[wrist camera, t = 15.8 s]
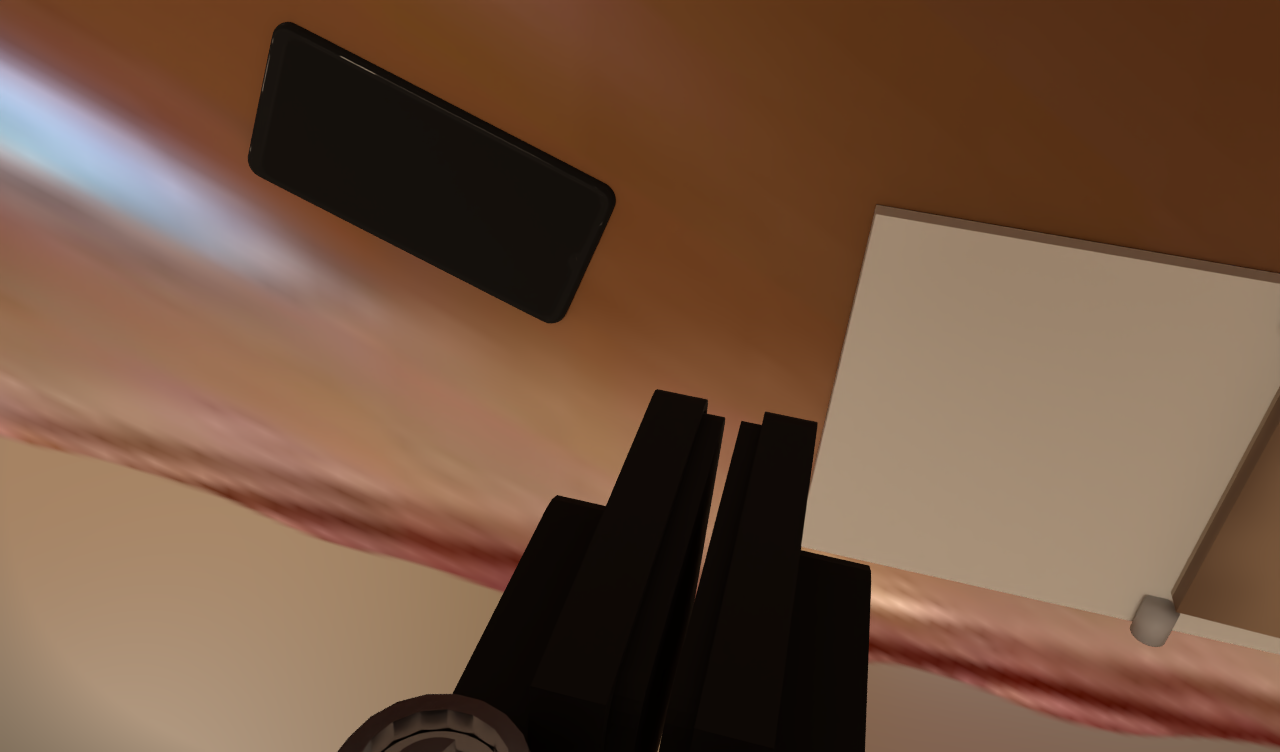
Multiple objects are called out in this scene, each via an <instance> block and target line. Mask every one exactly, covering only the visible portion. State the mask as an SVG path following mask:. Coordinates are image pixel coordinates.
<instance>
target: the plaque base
mask: <svg viewBox="0 0 1280 752" xmlns="http://www.w3.org/2000/svg"><path fill="white" fill-rule="evenodd" d="M1279 387H1280V274H1279V273H1273V272H1267V271H1261V270H1255V269H1250V268H1244V267H1238V266H1232V265H1226V264H1220V263H1214V262H1209V261H1203V260H1197V259H1191V258H1185V257H1179V256H1174V255H1168V254H1162V253H1156V252H1150V251H1144V250H1139V249H1133V248H1127V247H1121V246H1115V245H1109V244H1103V243H1098V242H1092V241H1086V240H1080V239H1074V238H1068V237H1063V236H1057V235H1051V234H1045V233H1039V232H1033V231H1028V230H1022V229H1016V228H1010V227H1004V226H998V225H992V224H987V223H981V222H975V221H969V220H963V219H957V218H952V217H946V216H940V215H934V214H928V213H922V212H917V211H911V210H905V209H899V208H893V207H887V206H881V205H876V208H875V212H874V217H873V221H872V225H871V229H870V233H869V238H868V242H867V246H866V250H865V254H864V259H863V263H862V267H861V271H860V275H859V280H858V284H857V288H856V292H855V296H854V301H853V305H852V309H851V313H850V317H849V322H848V326H847V330H846V334H845V338H844V343H843V347H842V351H841V355H840V359H839V364H838V368H837V372H836V376H835V380H834V385H833V389H832V393H831V397H830V402H829V406H828V410H827V414H826V418H825V423H824V427H823V431H822V435H821V439H820V444H819V448H818V452H817V456H816V460H815V465H814V469H813V473H812V477H811V481H810V486H809V492H808V500H807V507H806V514H805V522H804V529H803V537H802V544H801V547H805V548H809V549H814V550H818V551H823V552H827V553H831V554H836V555H840V556H845V557H849V558H854V559H858V560H862V561H867V562H871V563H876V564H880V565H885V566H889V567H893V568H898V569H902V570H907V571H911V572H916V573H920V574H924V575H929V576H933V577H938V578H942V579H947V580H951V581H956V582H960V583H964V584H969V585H973V586H978V587H982V588H987V589H991V590H995V591H1000V592H1004V593H1009V594H1013V595H1018V596H1022V597H1026V598H1031V599H1035V600H1040V601H1044V602H1049V603H1053V604H1057V605H1062V606H1066V607H1071V608H1075V609H1080V610H1084V611H1089V612H1093V613H1097V614H1102V615H1106V616H1111V617H1115V618H1120V619H1124V620H1128V621H1133V622H1132V624H1131V626H1130V631H1131V633H1132V635H1133V636H1134V637H1135V638H1136V639H1137V640H1139V641H1140V642H1142V643H1143V644H1146V645H1148V646H1152V647H1160V646H1163V645H1164V644H1165V642H1166V640H1167V638H1168V636H1169V635H1170V633H1171V631H1172V630H1173V631H1177V632H1182V633H1186V634H1190V635H1195V636H1199V637H1204V638H1208V639H1213V640H1217V641H1222V642H1226V643H1230V644H1235V645H1239V646H1244V647H1248V648H1253V649H1257V650H1261V651H1266V652H1270V653H1275V654H1279V655H1280V638H1276V637H1272V636H1268V635H1264V634H1260V633H1256V632H1253V631H1249V630H1245V629H1241V628H1237V627H1233V626H1229V625H1225V624H1221V623H1217V622H1213V621H1209V620H1205V619H1201V618H1197V617H1194V616H1190V615H1186V614H1182V613H1178V612H1176V610H1175V606H1174V603H1173V599H1172V595H1171V591H1172V589H1173V587H1174V585H1175V583H1176V581H1177V579H1178V577H1179V576H1180V574H1181V572H1182V570H1183V568H1184V566H1185V564H1186V562H1187V560H1188V559H1189V557H1190V555H1191V553H1192V551H1193V549H1194V547H1195V545H1196V544H1197V542H1198V540H1199V538H1200V536H1201V534H1202V532H1203V530H1204V528H1205V527H1206V525H1207V523H1208V521H1209V519H1210V517H1211V515H1212V513H1213V511H1214V510H1215V508H1216V506H1217V504H1218V502H1219V500H1220V498H1221V496H1222V494H1223V493H1224V491H1225V489H1226V487H1227V485H1228V483H1229V481H1230V479H1231V477H1232V476H1233V474H1234V472H1235V470H1236V468H1237V466H1238V464H1239V462H1240V460H1241V459H1242V457H1243V455H1244V453H1245V451H1246V449H1247V447H1248V445H1249V443H1250V442H1251V440H1252V438H1253V436H1254V434H1255V432H1256V430H1257V428H1258V426H1259V425H1260V423H1261V421H1262V419H1263V417H1264V415H1265V413H1266V411H1267V409H1268V408H1269V406H1270V404H1271V402H1272V400H1273V398H1274V396H1275V394H1276V392H1277V391H1278V389H1279Z"/></svg>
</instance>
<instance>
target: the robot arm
mask: <svg viewBox="0 0 1280 752" xmlns="http://www.w3.org/2000/svg"><path fill="white" fill-rule="evenodd" d="M707 407H708V400H707V399H702V398H697V397H692V396H687V395H683V394H678V393H673V392H668V391H663V390H658V389H657V390H655V392H654V394H653V396H652V398H651V401H650V403H649V405H648V408H647V410H646V413H645V415H644V417H643V420H642V422H641V424H640V427H639V429H638V432H637V434H636V436H635V439H634V441H633V443H632V446H631V448H630V450H629V453H628V455H627V458H626V460H625V462H624V465H623V467H622V469H621V472H620V474H619V477H618V479H617V481H616V484H615V486H614V488H613V491H612V493H611V496H610V498H609V500H608V503H607V505H606V506H603V505H598V504H594V503H589V502H585V501H581V500H576V499H572V498H567V497H563V496H559V495H557V496H555V497H554V498H553V499H552V500H551V502H550V503H549V505H548V507H547V508H546V510H545V512H544V514H543V516H542V518H541V520H540V522H539V524H538V526H537V528H536V530H535V532H534V534H533V536H532V538H531V540H530V542H529V544H528V546H527V548H526V550H525V552H524V554H523V556H522V558H521V560H520V562H519V563H518V565H517V567H516V569H515V571H514V573H513V575H512V577H511V579H510V581H509V583H508V585H507V587H506V589H505V591H504V593H503V595H502V597H501V599H500V601H499V603H498V605H497V607H496V609H495V611H494V613H493V615H492V617H491V619H490V621H489V623H488V625H487V627H486V629H485V631H484V633H483V635H482V637H481V639H480V641H479V643H478V645H477V646H476V649H475V651H474V652H473V655H472V656H471V659H470V660H469V662H468V664H467V666H466V668H465V670H464V672H463V674H462V676H461V678H460V680H459V682H458V684H457V686H456V688H455V690H454V692H453V694H426V695H422V696H418V697H415V698H411V699H407V700H403V701H399V702H396V703H395V704H393V705H391V706H389V707H387V708H385V709H384V710H382V711H380V712H378V713H376V714H374V715H373V716H371V717H370V718H369V719H368V720H367V721H366V722H365V723H363V725H361V726H360V727H359V728H358V729H357V730H356V731H355V732H354V733H353V734H352V735H351V736H350V737H349V738H348V739H347V740H346V742H345V743H344V744H343V745H342V747H341V748H340V749H339V750H338V752H657V751H658V747H659V744H660V749H659V752H865V732H866V706H867V705H866V703H867V679H868V653H869V626H870V599H871V570H870V566H868V565H864V564H859V563H855V562H850V561H846V560H842V559H837V558H833V557H828V556H824V555H819V554H815V553H811V552H806V551H802V550H801V544H802V537H803V529H804V522H805V514H806V507H807V500H808V492H809V485H810V477H811V470H812V462H813V455H814V447H815V440H816V432H817V422H814V421H809V420H804V419H799V418H794V417H789V416H784V415H780V414H775V413H770V412H765V414H764V418H763V423H762V425H759V424H754V423H749V422H744V421H742V422H741V425H740V428H739V432H738V436H737V440H736V444H735V448H734V452H733V455H732V459H731V463H730V467H729V471H728V475H727V479H726V482H725V486H724V490H723V494H722V498H721V502H720V506H719V509H718V513H717V517H716V521H715V525H714V529H713V533H712V536H711V540H710V544H709V548H708V552H707V556H706V560H705V563H704V567H703V571H702V575H701V579H700V583H699V587H698V590H697V594H696V589H697V583H698V577H699V571H700V565H701V559H702V554H703V548H704V542H705V536H706V530H707V524H708V519H709V513H710V507H711V501H712V495H713V489H714V483H715V478H716V472H717V466H718V460H719V454H720V448H721V443H722V437H723V431H724V425H725V417H720V416H715V415H711V414H707ZM695 594H696V598H695ZM694 600H695V602H694ZM661 736H662V737H661ZM660 740H661V743H660Z"/></svg>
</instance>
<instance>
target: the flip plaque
mask: <svg viewBox="0 0 1280 752" xmlns="http://www.w3.org/2000/svg"><path fill="white" fill-rule="evenodd" d="M1171 595H1172V599H1173V603H1174V606H1175V610H1176V612H1178V613H1182V614H1186V615H1190V616H1194V617H1197V618H1201V619H1205V620H1209V621H1213V622H1217V623H1221V624H1225V625H1229V626H1233V627H1237V628H1241V629H1245V630H1249V631H1253V632H1256V633H1260V634H1264V635H1268V636H1272V637H1276V638H1280V387H1279V389H1278V391H1277V392H1276V394H1275V396H1274V398H1273V400H1272V402H1271V404H1270V406H1269V408H1268V409H1267V411H1266V413H1265V415H1264V417H1263V419H1262V421H1261V423H1260V425H1259V426H1258V428H1257V430H1256V432H1255V434H1254V436H1253V438H1252V440H1251V442H1250V443H1249V445H1248V447H1247V449H1246V451H1245V453H1244V455H1243V457H1242V459H1241V460H1240V462H1239V464H1238V466H1237V468H1236V470H1235V472H1234V474H1233V476H1232V477H1231V479H1230V481H1229V483H1228V485H1227V487H1226V489H1225V491H1224V493H1223V494H1222V496H1221V498H1220V500H1219V502H1218V504H1217V506H1216V508H1215V510H1214V511H1213V513H1212V515H1211V517H1210V519H1209V521H1208V523H1207V525H1206V527H1205V528H1204V530H1203V532H1202V534H1201V536H1200V538H1199V540H1198V542H1197V544H1196V545H1195V547H1194V549H1193V551H1192V553H1191V555H1190V557H1189V559H1188V560H1187V562H1186V564H1185V566H1184V568H1183V570H1182V572H1181V574H1180V576H1179V577H1178V579H1177V581H1176V583H1175V585H1174V587H1173V589H1172V591H1171Z"/></svg>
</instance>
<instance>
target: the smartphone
mask: <svg viewBox="0 0 1280 752" xmlns="http://www.w3.org/2000/svg"><path fill="white" fill-rule="evenodd" d="M333 47H334V48H333ZM432 98H433V99H432ZM527 147H528V148H527ZM248 163H249V166H250V168H251V170H252V171H253V172H254V173H255V174H256V175H258V176H260V177H261V178H263V179H265V180H267V181H269V182H271V183H273V184H275V185H277V186H279V187H281V188H283V189H285V190H287V191H289V192H290V193H292V194H294V195H296V196H298V197H300V198H302V199H304V200H306V201H308V202H310V203H312V204H314V205H316V206H318V207H320V208H322V209H324V210H326V211H328V212H330V213H332V214H333V215H335V216H337V217H339V218H341V219H343V220H345V221H347V222H349V223H351V224H353V225H355V226H357V227H359V228H361V229H363V230H365V231H367V232H369V233H371V234H373V235H375V236H377V237H379V238H380V239H382V240H384V241H386V242H388V243H390V244H392V245H394V246H396V247H398V248H400V249H402V250H404V251H406V252H408V253H410V254H412V255H414V256H416V257H418V258H420V259H422V260H424V261H426V262H427V263H429V264H431V265H433V266H435V267H437V268H439V269H441V270H443V271H445V272H447V273H449V274H451V275H453V276H455V277H457V278H459V279H461V280H463V281H465V282H467V283H469V284H471V285H473V286H474V287H476V288H478V289H480V290H482V291H484V292H486V293H488V294H490V295H492V296H494V297H496V298H498V299H500V300H502V301H504V302H506V303H508V304H510V305H512V306H514V307H516V308H518V309H520V310H522V311H524V312H526V313H528V314H530V315H532V316H533V317H535V318H537V319H539V320H541V321H544V322H546V323H556V322H559V321H560V320H562V319H563V318H564V316H565V314H566V312H567V310H568V308H569V306H570V304H571V302H572V299H573V297H574V295H575V293H576V291H577V288H578V286H579V284H580V282H581V280H582V277H583V275H584V273H585V271H586V269H587V266H588V264H589V262H590V260H591V258H592V255H593V253H594V251H595V249H596V247H597V244H598V242H599V240H600V238H601V236H602V233H603V231H604V229H605V227H606V225H607V222H608V220H609V218H610V216H611V213H612V211H613V209H614V206H615V202H616V199H615V194H614V192H613V190H612V189H611V188H610V187H609V186H608V185H607V184H605V183H603V182H601V181H599V180H597V179H595V178H593V177H592V176H590V175H588V174H586V173H584V172H582V171H580V170H578V169H576V168H574V167H572V166H570V165H568V164H567V163H565V162H563V161H561V160H559V159H557V158H555V157H553V156H551V155H549V154H547V153H545V152H543V151H541V150H539V149H537V148H535V147H534V146H532V145H530V144H528V143H526V142H524V141H522V140H520V139H518V138H516V137H514V136H512V135H510V134H508V133H506V132H504V131H502V130H501V129H499V128H497V127H495V126H493V125H491V124H489V123H487V122H485V121H483V120H481V119H479V118H477V117H475V116H473V115H471V114H470V113H468V112H466V111H464V110H462V109H460V108H458V107H456V106H454V105H452V104H450V103H448V102H446V101H444V100H442V99H440V98H438V97H437V96H435V95H433V94H431V93H429V92H427V91H425V90H423V89H421V88H419V87H417V86H415V85H413V84H411V83H409V82H407V81H405V80H404V79H402V78H400V77H398V76H396V75H394V74H392V73H390V72H388V71H386V70H384V69H382V68H380V67H378V66H376V65H374V64H372V63H370V62H369V61H367V60H365V59H363V58H361V57H359V56H357V55H355V54H353V53H351V52H349V51H347V50H345V49H343V48H341V47H339V46H337V45H335V44H334V43H332V42H330V41H328V40H326V39H324V38H322V37H320V36H318V35H316V34H314V33H312V32H310V31H308V30H306V29H304V28H302V27H300V26H298V25H296V24H294V23H291V22H285V23H282V24H280V25H278V26H277V27H276V28H275V30H274V32H273V36H272V40H271V45H270V50H269V54H268V59H267V64H266V69H265V74H264V79H263V84H262V89H261V94H260V99H259V104H258V109H257V114H256V119H255V124H254V129H253V134H252V138H251V144H250V149H249V154H248ZM585 177H586V178H585Z"/></svg>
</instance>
